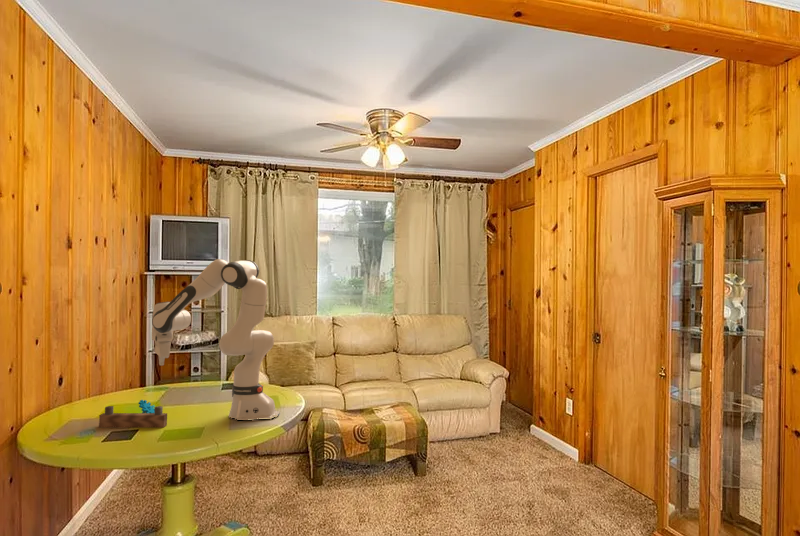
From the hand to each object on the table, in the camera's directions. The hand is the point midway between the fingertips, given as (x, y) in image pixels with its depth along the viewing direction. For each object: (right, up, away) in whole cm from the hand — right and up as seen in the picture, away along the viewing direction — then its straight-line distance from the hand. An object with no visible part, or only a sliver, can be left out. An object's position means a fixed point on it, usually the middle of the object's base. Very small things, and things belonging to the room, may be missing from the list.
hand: (161, 365), depth 220 cm
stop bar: (+1, -20, -25) cm, 33 cm away
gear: (0, -21, -12) cm, 24 cm away
